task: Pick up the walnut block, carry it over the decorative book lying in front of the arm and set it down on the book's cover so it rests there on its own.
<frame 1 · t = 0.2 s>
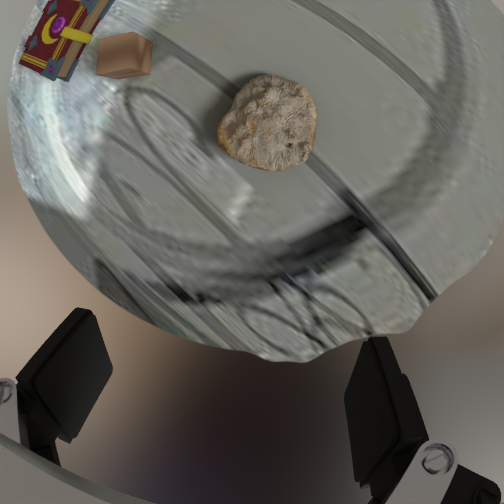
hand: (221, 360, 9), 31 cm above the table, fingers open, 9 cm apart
walnut block: (135, 60, 31), on the table
decorative book: (73, 30, 29), on the table
fossil: (272, 123, 34), on the table
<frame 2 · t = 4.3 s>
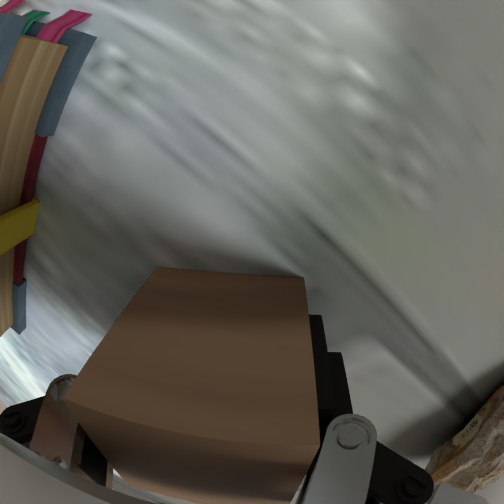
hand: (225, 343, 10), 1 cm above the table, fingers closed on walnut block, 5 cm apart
walnut block: (228, 331, 11), on the table, touching gripper
fossil: (489, 414, 13), on the table
when the fingers open (6 cm above the table, at t = 9.0 s): walnut block moves 2 cm, resting on decorative book.
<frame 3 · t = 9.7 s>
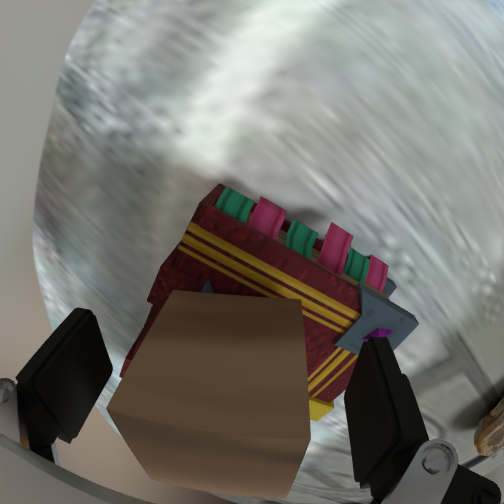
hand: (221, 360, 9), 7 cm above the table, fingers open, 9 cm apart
walnut block: (235, 343, 12), point 5 cm above the table, touching decorative book
decorative book: (251, 320, 18), on the table, touching walnut block
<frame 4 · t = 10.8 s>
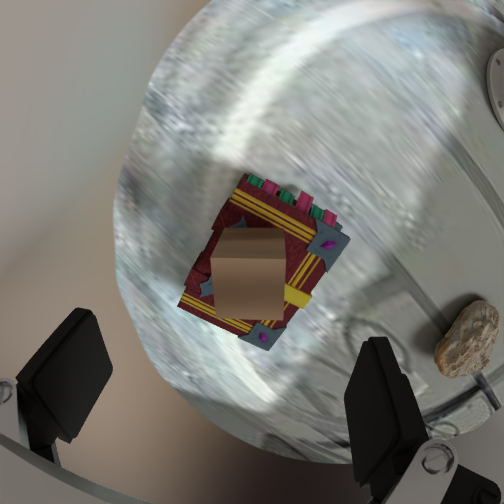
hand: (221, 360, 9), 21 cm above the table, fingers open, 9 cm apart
walnut block: (254, 254, 26), point 5 cm above the table, touching decorative book
decorative book: (261, 252, 31), on the table, touching walnut block
fossil: (462, 331, 34), on the table
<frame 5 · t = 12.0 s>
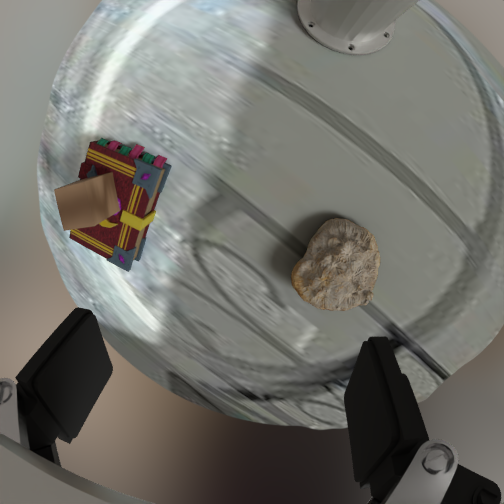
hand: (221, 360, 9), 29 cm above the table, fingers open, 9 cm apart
walnut block: (100, 194, 33), point 5 cm above the table, touching decorative book
decorative book: (123, 195, 39), on the table, touching walnut block
fossil: (336, 259, 39), on the table
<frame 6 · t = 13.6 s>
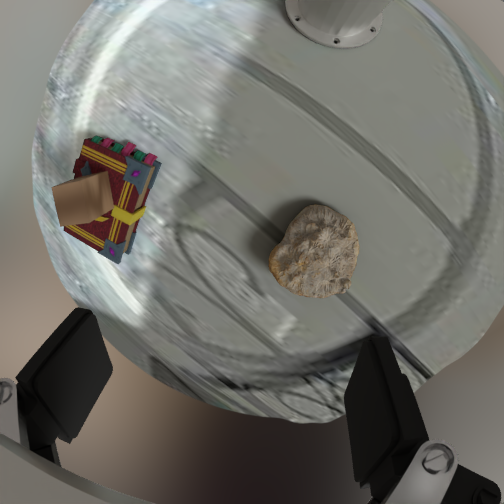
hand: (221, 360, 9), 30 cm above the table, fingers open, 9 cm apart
walnut block: (96, 192, 34), point 5 cm above the table, touching decorative book
decorative book: (116, 190, 40), on the table, touching walnut block
fossil: (316, 246, 40), on the table
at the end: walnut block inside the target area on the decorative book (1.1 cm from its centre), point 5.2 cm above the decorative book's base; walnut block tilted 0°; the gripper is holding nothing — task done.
